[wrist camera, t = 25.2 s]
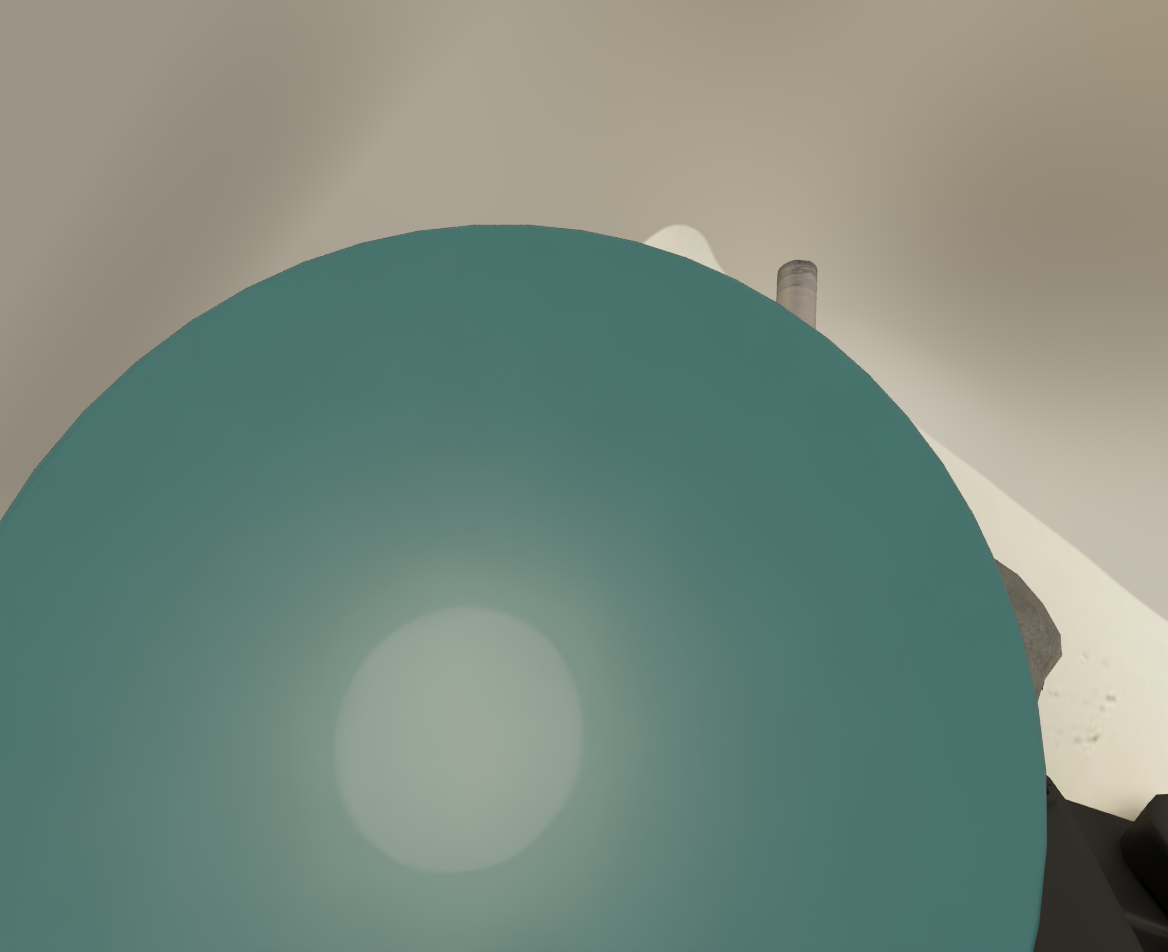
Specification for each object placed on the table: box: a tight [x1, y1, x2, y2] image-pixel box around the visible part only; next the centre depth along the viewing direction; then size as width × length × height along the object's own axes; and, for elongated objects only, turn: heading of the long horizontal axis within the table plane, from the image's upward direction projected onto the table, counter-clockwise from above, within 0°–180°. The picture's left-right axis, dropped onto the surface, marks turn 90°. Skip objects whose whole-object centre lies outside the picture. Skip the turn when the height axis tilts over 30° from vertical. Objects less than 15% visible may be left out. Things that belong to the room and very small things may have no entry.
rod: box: [776, 260, 817, 329], centre depth 40 cm, size 12×3×3 cm, turn 171°
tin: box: [0, 225, 1047, 952], centre depth 9 cm, size 6×6×11 cm
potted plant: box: [995, 559, 1062, 701], centre depth 29 cm, size 12×13×15 cm
